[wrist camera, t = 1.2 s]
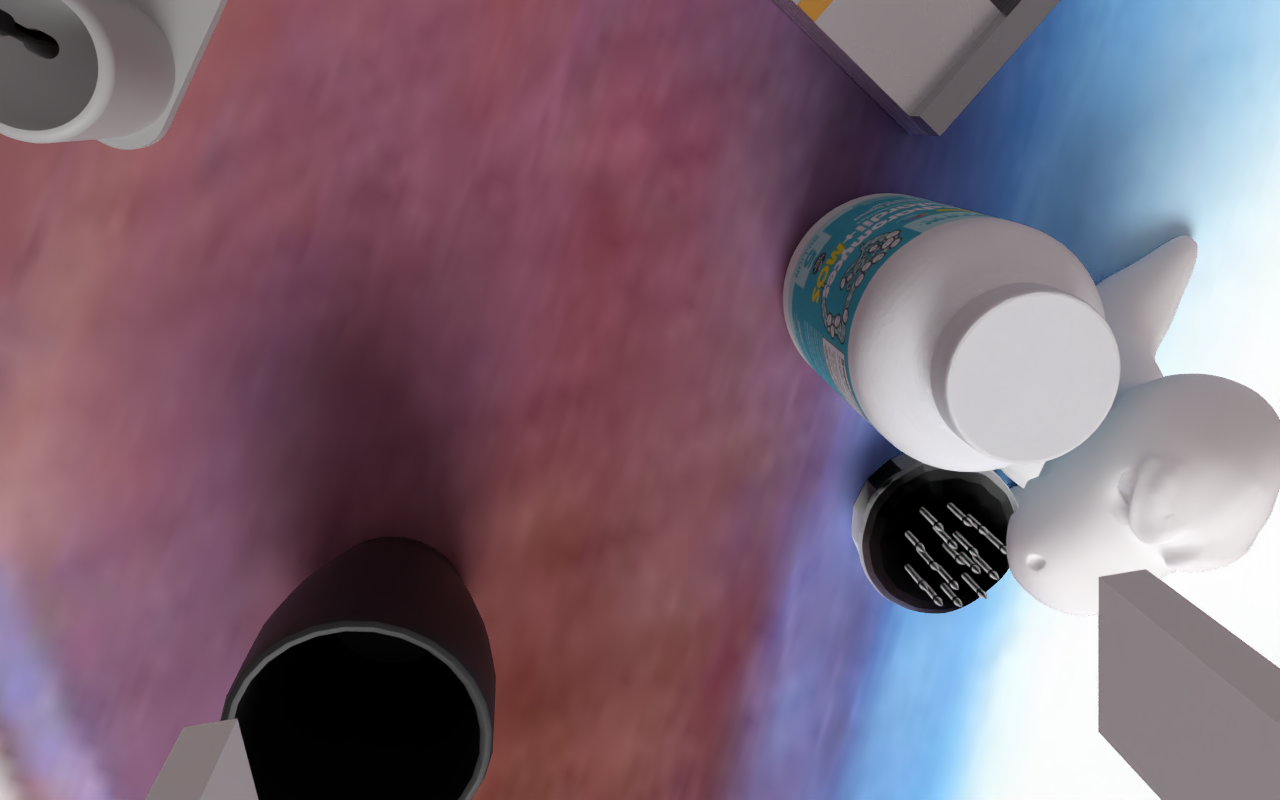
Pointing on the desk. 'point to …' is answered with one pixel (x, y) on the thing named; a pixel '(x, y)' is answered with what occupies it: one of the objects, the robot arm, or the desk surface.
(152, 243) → the desk surface
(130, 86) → the phone holder
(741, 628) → the desk surface
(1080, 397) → the pill bottle
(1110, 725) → the robot arm
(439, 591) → the mug
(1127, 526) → the figurine
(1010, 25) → the console
